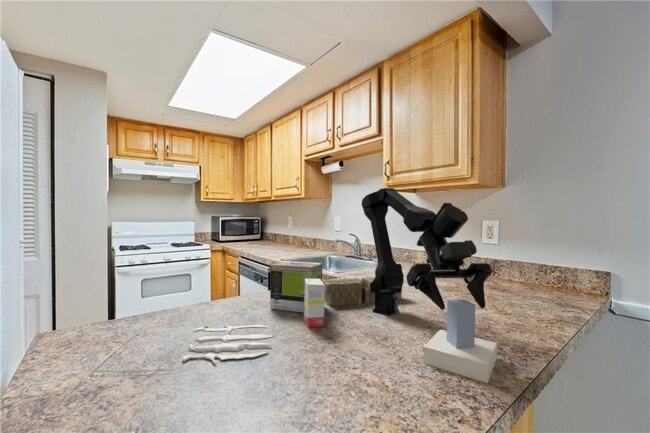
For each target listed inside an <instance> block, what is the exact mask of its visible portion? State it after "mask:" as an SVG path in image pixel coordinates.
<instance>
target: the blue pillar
mask: <svg viewBox="0 0 650 433" xmlns="http://www.w3.org/2000/svg"><path fill="white" fill-rule="evenodd" d="M446 302H447V303H446V305H447V306H446V331H447V341H448V342H449V343H450V344H452V345H453V346H454V347H455V348H474V345H475V338H476V335H475V334H476V330H475V328H476V304H474V303H472V302H470V301H469V300H466V299H447V300H446Z"/></svg>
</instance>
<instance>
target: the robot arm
mask: <svg viewBox="0 0 650 433" xmlns="http://www.w3.org/2000/svg"><path fill="white" fill-rule="evenodd" d="M361 207H362V210H363V213H364V215H365V216H366V218H367V219H368V220H369V221H370V225H371V230H372V235H373V236H372V237H373V242H374V247H375V252H376V257H377V258H376V259H377V266H376V268H375V270H374V277H375V279H374V280H373V281H372V283H371V284H370V288H371V292H373V293H375V302H374V308H373V309H372V312H373V313H378V314H381V315H387V316H392V315H394V314H396V313H397V312H398V311H399V310H400V309H399V300H398V298H397V293H401V290H402V291H403V286H404V281H405V279H404V277H405V275H404V272H403V266H402V263H397V262H396V261H395V260H394V255H393V252H392V251H393V250H392V245H391V241H390V235H389V231H388V226H387V222H386V220H387V219H386V217H387V214H388V212H389V207H390V208H391V209H392V210H394V211H395V212H396V213H397V214H398V215H400V216H401V217H402V221H403V224H404V225H405V227H406V228H407V229H408V231H410V232H412V233H422V234H421V235H419V237H418V239H417V241H416V246H417V247H423V249H424V251H425V253H426V255H427V258H426V262H425V263H424V262H423V263H419V262H418V263H413V264H412V266H411V267H410V269H409V270H408V272H407V274H406V282H407V284H408V285H407V286H409V287H414V289H415V290H419V291H420V292H421V293H422V294H424V295H425V296H426V297H428V298H429V299H430V300H431V301H432V302H433V303H434V304H435V305H436V306H437V307H438V308H439V309H440V310H442V311H444V310H445V309H446V305H445V302H444V299H443V297H442V295H441V292H440V290H439V287H438V286H437V280H436V279H463V281H464V283H465V284H467V285H466V286H465V287H466V288H467V290H468V292H469V293H470V294H471V296H472V298H473V299H474V301H475V302H476V304H477V305H478V306H479V307H480V309H485V308H486V297H485V291H484V290H485V289H484V288H485V282H486V281H487V279H488V278H489V277H490V276H491V274H493V273H494V270H493V269H492V267H491V266H490V263H487V262H471V263H470V265H469V266H468V267H467V268H466V269H465V268H464V269H463V268H461V267H462V266H464V264H465V261H464V260H466V259H468V258H471V257H472V256H473V255H475V254H477V246H476V244H475V243H474V241H473V240H470V239H469V240H464V241H451V242H450V241H449V242H448V240H447V239H452V238H454V237H455V236H456V235H457V233H458V232H460V230H461V229H462V228H463V227H464V225H465V224H466V223H467V222H468V219H469V217H468V215H467V213H466V212H465V211H463V210H462V209H460V208H459V207H457V206H456V205H453V204H452V203H451V202H443V204H442V205H441V207H440V208H439V210H438V211H437V213H436V212H434V211H432V210H430V209H429V208H426V207H421V206H418V205H415V204H414V203H413V202H412V201H410V200H409V199H407V198H406V197H405V196H403V195H402V194H401V193H399V191H397V189H395V188H393V187H382V188H380V189H379V190H376V191H374V192H371V193H368V194H366V195H365V196H364V197H363V198H362V200H361ZM399 312H400V311H399Z"/></svg>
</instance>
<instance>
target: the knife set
mask: <svg viewBox="0 0 650 433" xmlns="http://www.w3.org/2000/svg"><path fill="white" fill-rule="evenodd" d="M198 325H200V327H198V328H195V329H193V330H192V333H196V332H206V333H207V332H208V333H209V332H214V334H213V335H211V336H207V335H202V336H201V337H197V338H195V341H198V342H199V343H205V342H208V344H207V345H197V346H194V345H193V343H192V344H191V343H189V345H188V350H189V351H191V352H192V351H193V352H196V353H198V352H199V353H202V354H201V355H197V354H196V355H191V354H190V355H189V354H186V355H184V356H183V357H182V361H183V362H187V361H189V360H190V359H198V360H197V361H196V362H194V363H192V364H190V365H186V366H185V367H190V366H193V365H196V364H198V362H199V361H200V360H201V359H205V360H210V361H211V362H212V363H213V364H216V365H217V361H216V360H215V359H217V358H218V359H219V360H221V361H225V360H240V359H245V358H248V359H249V358H250V359H251V358H252V359H254V358H256V357H257V358H258V357H259V356H263V355H266V354H269V353H270V351H261V352H256V353H244V354H243V353H242V354H241V353H240V354H218V353H220V352H233V353H234V352H239V351H243V350H244V349H247V350H253V349H254V350H256V349H272V345H271V344H270V343H266V342H259V341H258V342H257V340H263V339H269V338H274V337H275V335H269V334H262V333H261V334H260V333H257V334H256V333H255V334H253V333H252V334H243V335H242V334H240V335H239V334H238V335H236V334H231V332H232V331H233V330H234V331H235V330H238V329H246V328H247V329H250V328H252V329H253V328H255V329H257V328H259V329H273V327H272V326H270V325H264V324H250V325H249V324H248V325H235V326H230V325H224V327H222V328H220V324H219V323H217V325H218V327H217V328H208V327H209V326H207V325H206V326H205V325H204V323H203V324H200V323H198V324H193V326H198ZM201 325H203V326H201ZM172 326H174V327H175V326H177V327H178V326H179V324H176V325H175V324H174V325H171V324H170V325H169V324H167V327H172ZM158 327H159V328H160V327H161V325H155V326H150V327H147V328H144V329H142V330H141V331H139V332H137V333H136V334H134V335H132V336H131V337H130V338H128V339H126V340H125V341H124V342H123V343H121V344H120V346H118V347H117V348H116V349H115V350H113V351H112V352H111V353H110V354H109V355H107V356H106V358H104V359H103V360H102V361H101V362H100V363H99V364H97V365H96V366H95V367H94V368H93V369H92V370H90V372H91V373H141V372H142V373H143V372H145V373H146V372H150V373H151V372H168V371H174V370H178V369H180V367H179V368H173V369H170V368H169V369H160V370H159V369H154V370H153V369H151V370H106V371H105V370H101V371H100V370H99V371H98V370H95V369H96V368H98V367H99V366H100V365H101V364H103V363H104V361H106V360H107V359H108V358H109V357H110V356H111V355H113V353H115V352H116V351H118V349H119V348H121V347H122V346H123V345H125V344H126V343H127V342H128V341H129V340H131V339H132V338H134V337H135V336H137V335H138V334H141V333H142V332H144V331H146V330H148V329H150V328H151V329H152V328H158ZM217 332H225V333H224V335H223V336H215V335H216V334H217ZM243 340H248V342H232V341H243ZM249 340H250V342H249ZM253 340H256V341H253ZM211 341H222V343H217V344H214V345H210V343H211ZM228 342H229V343H228ZM207 352H208V353H207ZM212 352H214V353H212ZM204 353H207V354H204Z"/></svg>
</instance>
